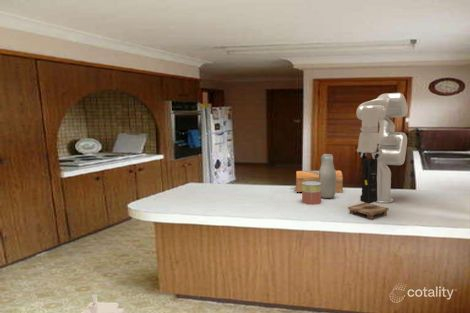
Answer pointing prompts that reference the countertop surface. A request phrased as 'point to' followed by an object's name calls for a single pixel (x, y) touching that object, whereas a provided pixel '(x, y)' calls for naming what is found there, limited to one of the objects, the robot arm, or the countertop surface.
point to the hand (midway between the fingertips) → (368, 165)
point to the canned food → (311, 192)
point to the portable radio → (369, 181)
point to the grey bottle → (327, 176)
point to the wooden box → (316, 179)
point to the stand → (368, 209)
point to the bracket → (102, 307)
